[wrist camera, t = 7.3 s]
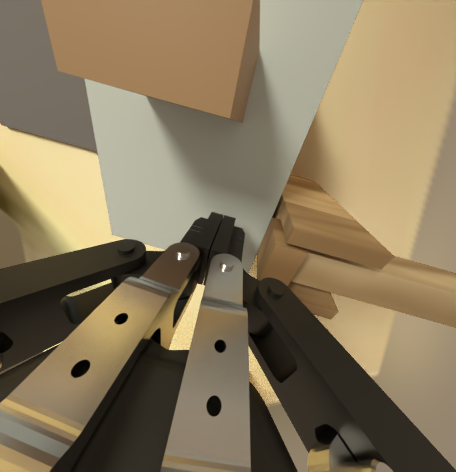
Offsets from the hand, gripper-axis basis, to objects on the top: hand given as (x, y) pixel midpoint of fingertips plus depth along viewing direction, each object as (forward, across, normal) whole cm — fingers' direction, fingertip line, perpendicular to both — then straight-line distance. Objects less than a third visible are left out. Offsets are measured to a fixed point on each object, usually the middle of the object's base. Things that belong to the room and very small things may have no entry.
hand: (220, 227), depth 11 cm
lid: (+3, +3, -3) cm, 5 cm away
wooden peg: (+1, -9, 0) cm, 9 cm away
